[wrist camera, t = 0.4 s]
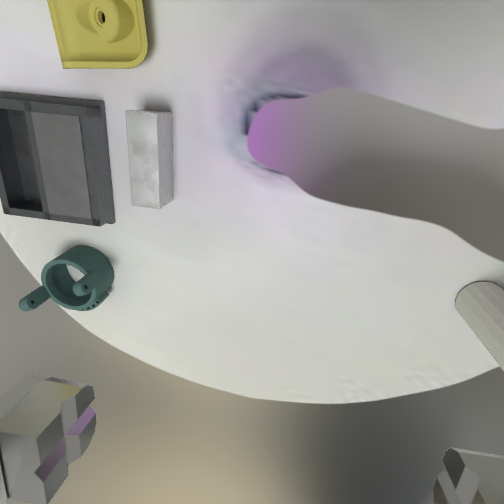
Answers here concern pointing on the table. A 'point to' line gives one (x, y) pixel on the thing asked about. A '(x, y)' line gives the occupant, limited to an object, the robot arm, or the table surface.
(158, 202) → the gray metallic block
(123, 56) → the plastic component
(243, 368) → the table surface
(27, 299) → the bracket
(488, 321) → the paper towel roll
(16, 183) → the grey flat box
